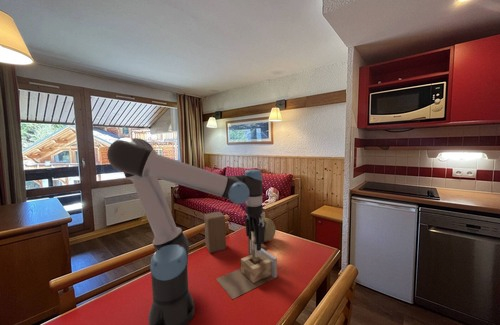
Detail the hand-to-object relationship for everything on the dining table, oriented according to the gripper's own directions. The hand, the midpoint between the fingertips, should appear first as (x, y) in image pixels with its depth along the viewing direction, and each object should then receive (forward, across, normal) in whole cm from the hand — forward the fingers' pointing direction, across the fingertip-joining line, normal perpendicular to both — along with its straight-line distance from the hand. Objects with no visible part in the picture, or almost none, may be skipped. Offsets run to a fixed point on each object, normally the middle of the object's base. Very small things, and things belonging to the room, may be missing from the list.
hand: (255, 254), depth 94 cm
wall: (+10, 0, -6) cm, 11 cm away
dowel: (+5, 0, 0) cm, 5 cm away
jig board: (+10, 0, +4) cm, 11 cm away
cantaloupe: (+10, +24, -24) cm, 35 cm away
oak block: (+10, 0, 0) cm, 10 cm away
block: (+10, +34, +4) cm, 36 cm away
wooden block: (+10, +13, -11) cm, 20 cm away
